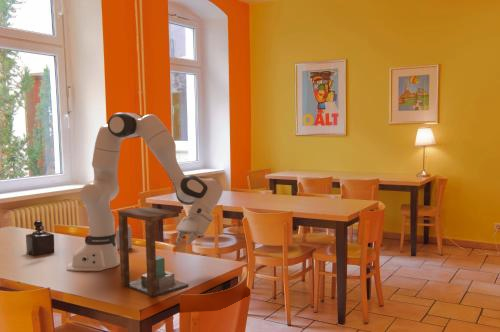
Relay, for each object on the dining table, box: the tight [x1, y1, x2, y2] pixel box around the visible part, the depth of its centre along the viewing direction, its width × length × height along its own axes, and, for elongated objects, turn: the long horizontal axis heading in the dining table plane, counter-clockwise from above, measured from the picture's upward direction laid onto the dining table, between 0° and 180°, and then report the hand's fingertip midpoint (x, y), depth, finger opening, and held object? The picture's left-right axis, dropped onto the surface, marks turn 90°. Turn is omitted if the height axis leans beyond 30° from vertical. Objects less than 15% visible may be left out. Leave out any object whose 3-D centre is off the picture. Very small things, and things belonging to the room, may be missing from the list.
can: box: [115, 224, 133, 251], centre depth 250 cm, size 8×8×12 cm
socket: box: [123, 270, 189, 298], centre depth 189 cm, size 16×20×4 cm
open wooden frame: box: [117, 206, 180, 297], centre depth 186 cm, size 13×21×29 cm, turn 46°
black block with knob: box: [25, 219, 55, 257], centre depth 242 cm, size 16×11×18 cm
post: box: [156, 255, 166, 278], centre depth 190 cm, size 4×4×10 cm
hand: (182, 242), depth 199 cm, fingers open, 8 cm apart
